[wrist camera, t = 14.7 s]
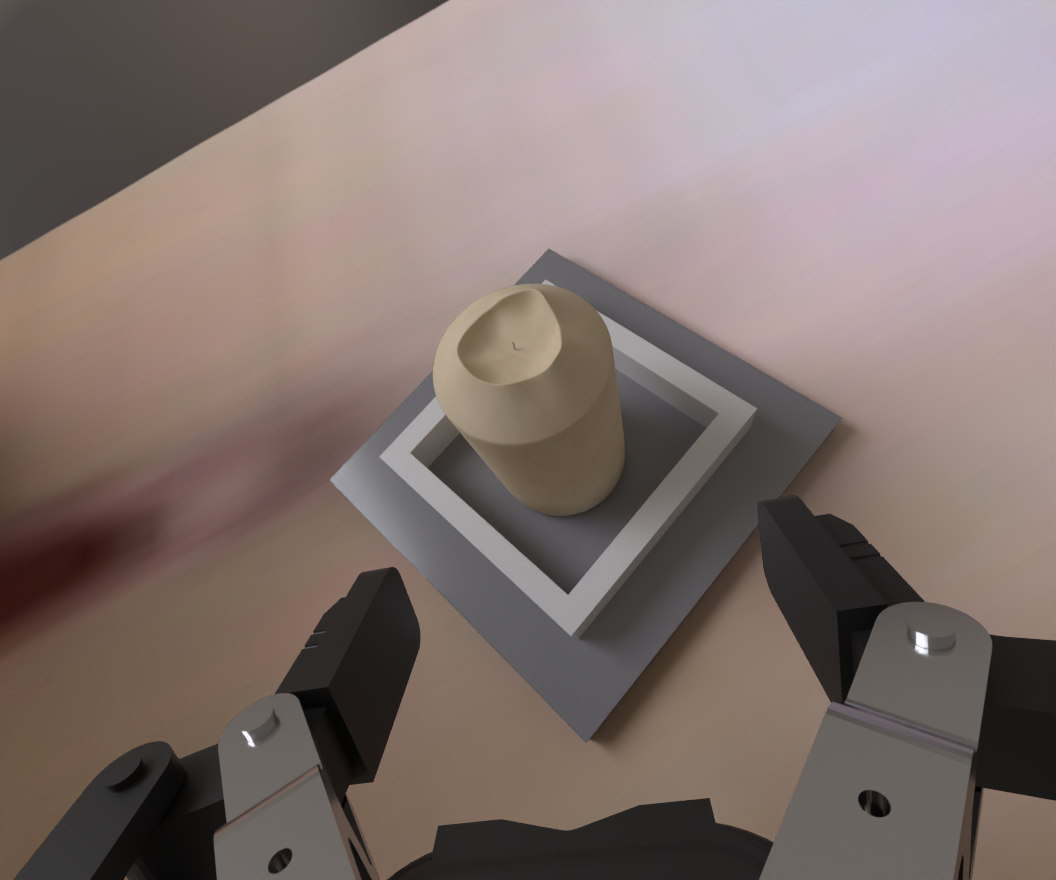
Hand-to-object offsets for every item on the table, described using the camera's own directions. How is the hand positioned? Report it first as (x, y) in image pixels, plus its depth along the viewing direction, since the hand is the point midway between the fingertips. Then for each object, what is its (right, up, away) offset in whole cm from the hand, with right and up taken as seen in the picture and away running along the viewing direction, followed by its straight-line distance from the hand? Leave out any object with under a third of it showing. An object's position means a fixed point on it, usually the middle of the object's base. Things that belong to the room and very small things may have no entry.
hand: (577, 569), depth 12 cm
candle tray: (+1, +2, +13) cm, 13 cm away
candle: (0, +2, +12) cm, 12 cm away
